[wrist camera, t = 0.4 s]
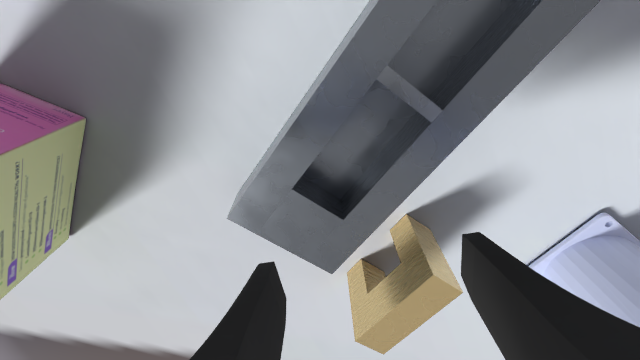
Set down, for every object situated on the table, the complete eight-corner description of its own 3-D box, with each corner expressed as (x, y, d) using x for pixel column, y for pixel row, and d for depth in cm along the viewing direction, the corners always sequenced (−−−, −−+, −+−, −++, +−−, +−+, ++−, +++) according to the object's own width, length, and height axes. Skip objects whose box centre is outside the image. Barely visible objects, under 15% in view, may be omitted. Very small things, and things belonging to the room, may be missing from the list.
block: (627, -77, 15) (694, -96, 12) (330, 245, 24) (332, 274, 22) (522, -222, 13) (575, -283, 10) (237, 193, 22) (226, 218, 19)
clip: (429, 229, 24) (463, 292, 18) (369, 285, 26) (383, 354, 21) (406, 213, 23) (433, 274, 18) (347, 272, 26) (355, 341, 20)
